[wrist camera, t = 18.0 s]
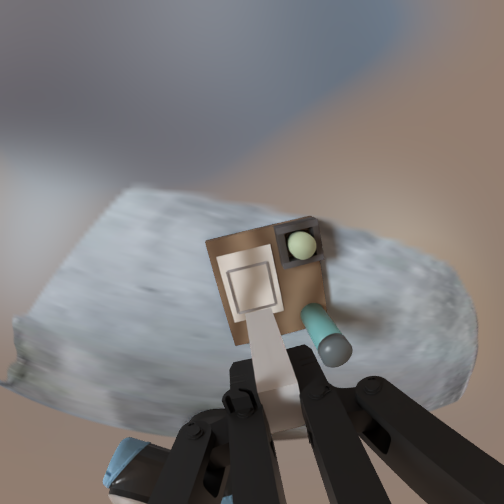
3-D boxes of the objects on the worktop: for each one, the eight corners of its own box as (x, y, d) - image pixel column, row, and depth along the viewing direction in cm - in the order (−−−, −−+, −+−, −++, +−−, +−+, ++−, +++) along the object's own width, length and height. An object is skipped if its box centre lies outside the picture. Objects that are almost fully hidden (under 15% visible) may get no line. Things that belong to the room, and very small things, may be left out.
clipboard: (235, 342, 45) (236, 354, 42) (205, 240, 41) (203, 246, 37) (325, 318, 46) (332, 328, 42) (310, 215, 41) (317, 219, 38)
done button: (288, 257, 40) (293, 262, 37) (284, 233, 39) (288, 236, 37) (312, 251, 40) (318, 256, 38) (308, 227, 39) (313, 230, 37)
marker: (313, 328, 45) (337, 371, 33) (294, 317, 44) (315, 360, 32) (329, 309, 44) (358, 348, 33) (310, 297, 43) (337, 336, 32)
